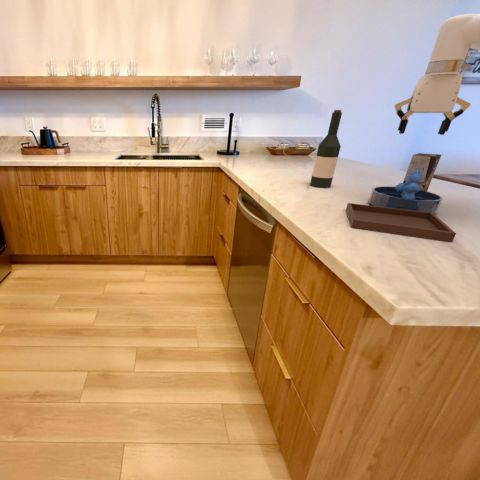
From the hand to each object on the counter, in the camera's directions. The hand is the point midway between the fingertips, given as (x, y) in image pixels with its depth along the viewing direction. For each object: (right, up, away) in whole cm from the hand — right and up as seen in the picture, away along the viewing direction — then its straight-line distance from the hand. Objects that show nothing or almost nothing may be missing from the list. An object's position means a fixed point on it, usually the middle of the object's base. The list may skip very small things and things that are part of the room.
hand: (420, 133), depth 88 cm
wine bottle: (-11, -9, +36) cm, 39 cm away
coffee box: (+11, -18, +17) cm, 27 cm away
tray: (-13, -28, -5) cm, 32 cm away
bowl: (+1, -22, +8) cm, 23 cm away
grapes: (+1, -21, +8) cm, 23 cm away
